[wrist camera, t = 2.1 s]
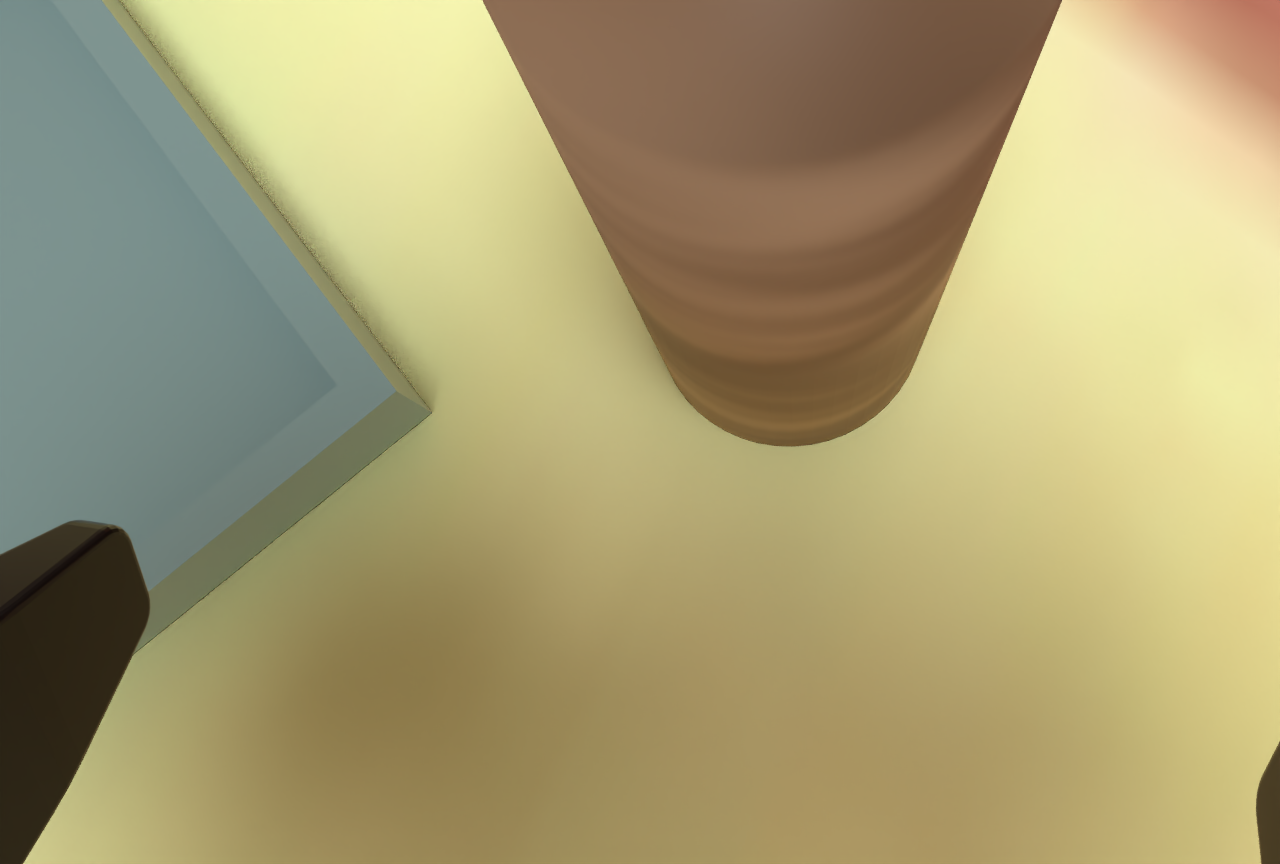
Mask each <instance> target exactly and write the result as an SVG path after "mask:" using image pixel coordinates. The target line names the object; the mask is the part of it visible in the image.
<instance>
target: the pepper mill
mask: <svg viewBox="0 0 1280 864" xmlns="http://www.w3.org/2000/svg"><path fill="white" fill-rule="evenodd" d="M483 2H484V4H485V6H486V8H487V10H488V12H489V14H490V16H491V18H492V20H493V22H494V24H495V26H496V28H497V30H498V32H499V34H500V36H501V38H502V40H503V42H504V44H505V46H506V48H507V50H508V52H509V54H510V56H511V58H512V60H513V62H514V64H515V66H516V68H517V70H518V72H519V74H520V76H521V78H522V80H523V82H524V84H525V86H526V88H527V90H528V92H529V94H530V96H531V98H532V100H533V102H534V104H535V106H536V108H537V110H538V112H539V114H540V116H541V118H542V120H543V122H544V124H545V126H546V128H547V130H548V132H549V134H550V136H551V138H552V140H553V142H554V144H555V146H556V148H557V150H558V152H559V154H560V156H561V158H562V160H563V162H564V164H565V166H566V168H567V170H568V172H569V174H570V175H571V177H572V179H573V181H574V183H575V185H576V187H577V189H578V191H579V193H580V195H581V197H582V199H583V201H584V203H585V205H586V207H587V209H588V211H589V213H590V215H591V217H592V219H593V221H594V223H595V225H596V227H597V229H598V231H599V233H600V235H601V237H602V239H603V241H604V243H605V245H606V247H607V249H608V251H609V253H610V255H611V257H612V259H613V261H614V263H615V265H616V267H617V269H618V271H619V273H620V275H621V277H622V279H623V281H624V283H625V285H626V287H627V289H628V291H629V293H630V295H631V297H632V299H633V301H634V303H635V305H636V307H637V309H638V311H639V313H640V315H641V317H642V319H643V321H644V323H645V325H646V327H647V329H648V331H649V333H650V335H651V337H652V339H653V341H654V343H655V345H656V347H657V349H658V351H659V353H660V355H661V356H662V358H663V360H664V362H665V364H666V366H667V368H668V370H669V372H670V374H671V376H672V378H673V380H674V382H675V384H676V385H677V387H678V388H679V390H680V391H681V392H682V394H683V395H684V397H685V398H686V399H687V400H688V402H689V403H690V404H691V405H692V406H693V407H694V408H695V409H696V410H697V411H698V412H699V413H700V414H702V415H703V416H704V417H705V418H707V419H708V420H709V421H710V422H712V423H713V424H715V425H717V426H718V427H720V428H722V429H723V430H725V431H727V432H729V433H731V434H733V435H736V436H738V437H740V438H743V439H746V440H750V441H753V442H756V443H761V444H767V445H774V446H802V445H812V444H816V443H820V442H825V441H829V440H832V439H834V438H837V437H840V436H842V435H845V434H847V433H849V432H851V431H853V430H855V429H857V428H858V427H860V426H862V425H863V424H865V423H866V422H868V421H869V420H870V419H872V418H873V417H875V416H876V415H877V414H878V413H879V412H880V411H881V410H882V409H884V408H885V407H886V406H887V405H888V404H889V403H890V401H891V400H892V399H893V398H894V397H895V395H896V394H897V393H898V392H899V391H900V389H901V387H902V386H903V384H904V383H905V381H906V379H907V378H908V376H909V374H910V372H911V370H912V368H913V365H914V363H915V361H916V358H917V356H918V354H919V351H920V349H921V346H922V344H923V341H924V339H925V336H926V334H927V331H928V329H929V326H930V324H931V322H932V319H933V317H934V314H935V312H936V309H937V307H938V304H939V302H940V299H941V297H942V294H943V292H944V290H945V287H946V285H947V282H948V280H949V277H950V275H951V272H952V270H953V267H954V265H955V262H956V260H957V258H958V255H959V253H960V250H961V248H962V245H963V243H964V240H965V238H966V235H967V233H968V230H969V228H970V226H971V223H972V221H973V218H974V216H975V213H976V211H977V208H978V206H979V203H980V201H981V198H982V196H983V194H984V191H985V189H986V186H987V184H988V181H989V179H990V176H991V174H992V171H993V169H994V166H995V164H996V162H997V159H998V157H999V154H1000V152H1001V149H1002V147H1003V144H1004V142H1005V139H1006V137H1007V135H1008V132H1009V130H1010V127H1011V125H1012V122H1013V120H1014V117H1015V115H1016V112H1017V110H1018V107H1019V105H1020V103H1021V100H1022V98H1023V95H1024V93H1025V90H1026V88H1027V85H1028V83H1029V80H1030V78H1031V75H1032V73H1033V71H1034V68H1035V66H1036V63H1037V61H1038V58H1039V56H1040V53H1041V51H1042V48H1043V46H1044V43H1045V41H1046V39H1047V36H1048V34H1049V31H1050V29H1051V26H1052V24H1053V21H1054V19H1055V16H1056V14H1057V11H1058V9H1059V7H1060V4H1061V2H1062V0H483Z"/></svg>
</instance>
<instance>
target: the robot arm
mask: <svg viewBox="0 0 1280 864" xmlns="http://www.w3.org/2000/svg"><path fill="white" fill-rule="evenodd" d="M149 615H150V596H149V592H148V589H147V586H146V583H145V580H144V577H143V574H142V571H141V568H140V565H139V562H138V559H137V556H136V553H135V550H134V547H133V544H132V541H131V539H130V537H129V535H128V534H127V533H126V532H125V530H124V529H123V528H122V527H119V526H117V525H113V524H106V523H100V522H93V521H86V520H73V521H69V522H66V523H64V524H62V525H60V526H58V527H55V528H53V529H51V530H49V531H47V532H45V533H43V534H41V535H39V536H37V537H35V538H33V539H31V540H29V541H27V542H25V543H23V544H21V545H18V546H16V547H14V548H12V549H10V550H8V551H6V552H4V553H2V554H0V864H23V863H24V861H25V860H26V858H27V856H28V855H29V853H30V851H31V850H32V848H33V846H34V845H35V843H36V841H37V840H38V838H39V837H40V835H41V833H42V832H43V830H44V828H45V827H46V825H47V823H48V822H49V820H50V818H51V817H52V815H53V814H54V812H55V810H56V808H57V807H58V805H59V803H60V801H61V800H62V798H63V796H64V794H65V793H66V791H67V789H68V787H69V785H70V784H71V782H72V780H73V778H74V776H75V774H76V772H77V770H78V768H79V766H80V764H81V762H82V760H83V758H84V756H85V754H86V752H87V750H88V748H89V746H90V744H91V742H92V739H93V737H94V735H95V733H96V731H97V729H98V727H99V725H100V723H101V721H102V719H103V716H104V714H105V712H106V710H107V708H108V706H109V704H110V702H111V700H112V698H113V695H114V693H115V691H116V689H117V687H118V685H119V683H120V681H121V679H122V677H123V675H124V672H125V670H126V668H127V666H128V664H129V662H130V660H131V658H132V656H133V654H134V652H135V649H136V647H137V645H138V643H139V641H140V639H141V637H142V635H143V633H144V631H145V628H146V626H147V623H148V619H149ZM1256 816H1257V826H1258V835H1259V845H1260V855H1261V864H1280V742H1279V744H1278V746H1277V748H1276V750H1275V752H1274V754H1273V756H1272V758H1271V760H1270V762H1269V764H1268V765H1267V767H1266V769H1265V771H1264V773H1263V775H1262V778H1261V780H1260V783H1259V787H1258V791H1257V798H1256Z"/></svg>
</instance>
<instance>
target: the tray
mask: <svg viewBox="0 0 1280 864" xmlns="http://www.w3.org/2000/svg"><path fill="white" fill-rule="evenodd" d="M431 413H432V412H431V411H430V409H429V408H428V407H427V405H426V404H425V403H424V401H423V400H422V399H421V397H420V396H419V395H418V394H417V392H416V391H415V390H414V388H413V387H412V386H411V384H410V383H409V382H408V380H407V379H406V378H405V376H404V375H403V374H402V372H401V371H400V370H399V369H398V367H397V366H396V365H395V363H394V362H393V361H392V359H391V358H390V357H389V355H388V354H387V353H386V351H385V350H384V349H383V347H382V346H381V345H380V344H379V342H378V341H377V340H376V338H375V337H374V336H373V334H372V333H371V332H370V330H369V329H368V328H367V326H366V325H365V324H364V322H363V321H362V320H361V319H360V317H359V316H358V315H357V313H356V312H355V311H354V309H353V308H352V307H351V305H350V304H349V303H348V301H347V300H346V299H345V297H344V296H343V295H342V294H341V292H340V291H339V290H338V288H337V287H336V286H335V284H334V283H333V282H332V280H331V279H330V278H329V276H328V275H327V274H326V272H325V271H324V270H323V269H322V267H321V266H320V265H319V263H318V262H317V261H316V259H315V258H314V257H313V255H312V254H311V253H310V251H309V250H308V249H307V247H306V246H305V245H304V243H303V242H302V241H301V240H300V238H299V237H298V236H297V234H296V233H295V232H294V230H293V229H292V228H291V226H290V225H289V224H288V222H287V221H286V220H285V218H284V217H283V216H282V215H281V213H280V212H279V211H278V209H277V208H276V207H275V205H274V204H273V203H272V201H271V200H270V199H269V197H268V196H267V195H266V193H265V192H264V191H263V190H262V188H261V187H260V186H259V184H258V183H257V182H256V180H255V179H254V178H253V176H252V175H251V174H250V172H249V171H248V170H247V168H246V167H245V166H244V165H243V163H242V162H241V161H240V159H239V158H238V157H237V155H236V154H235V153H234V151H233V150H232V149H231V147H230V146H229V145H228V143H227V142H226V141H225V140H224V138H223V137H222V136H221V134H220V133H219V132H218V130H217V129H216V128H215V126H214V125H213V124H212V122H211V121H210V120H209V118H208V117H207V116H206V114H205V113H204V112H203V111H202V109H201V108H200V107H199V105H198V104H197V103H196V101H195V100H194V99H193V97H192V96H191V95H190V93H189V92H188V91H187V89H186V88H185V87H184V86H183V84H182V83H181V82H180V80H179V79H178V78H177V76H176V75H175V74H174V72H173V71H172V70H171V68H170V67H169V66H168V64H167V63H166V62H165V61H164V59H163V58H162V57H161V55H160V54H159V53H158V51H157V50H156V49H155V47H154V46H153V45H152V43H151V42H150V41H149V39H148V38H147V37H146V36H145V34H144V33H143V32H142V30H141V29H140V28H139V26H138V25H137V24H136V22H135V21H134V20H133V18H132V17H131V16H130V14H129V13H128V12H127V11H126V9H125V8H124V7H123V5H122V4H121V3H120V1H119V0H0V554H2V553H4V552H6V551H8V550H10V549H12V548H14V547H16V546H18V545H21V544H23V543H25V542H27V541H29V540H31V539H33V538H35V537H37V536H39V535H41V534H43V533H45V532H47V531H49V530H51V529H53V528H55V527H58V526H60V525H62V524H64V523H66V522H69V521H73V520H86V521H93V522H100V523H106V524H113V525H117V526H119V527H122V528H123V529H124V530H125V532H126V533H127V534H128V535H129V537H130V539H131V541H132V544H133V547H134V550H135V553H136V556H137V559H138V562H139V565H140V568H141V571H142V574H143V577H144V580H145V583H146V586H147V589H148V592H149V596H150V615H149V619H148V623H147V626H146V628H145V631H144V633H143V635H142V637H141V639H140V641H139V643H138V645H137V647H136V649H135V652H137V651H138V650H139V649H140V648H142V647H143V646H144V645H145V644H146V643H148V642H149V641H150V640H151V639H153V638H154V637H155V636H156V635H158V634H159V633H160V632H161V631H163V630H164V629H165V628H166V627H167V626H169V625H170V624H171V623H172V622H174V621H175V620H176V619H177V618H179V617H180V616H181V615H182V614H184V613H185V612H186V611H187V610H189V609H190V608H191V607H192V606H193V605H195V604H196V603H197V602H198V601H200V600H201V599H202V598H203V597H205V596H206V595H207V594H208V593H210V592H211V591H212V590H213V589H214V588H216V587H217V586H218V585H219V584H221V583H222V582H223V581H224V580H226V579H227V578H228V577H229V576H231V575H232V574H233V573H234V572H236V571H237V570H238V569H239V568H240V567H242V566H243V565H244V564H245V563H247V562H248V561H249V560H250V559H252V558H253V557H254V556H255V555H257V554H258V553H259V552H260V551H261V550H263V549H264V548H265V547H266V546H268V545H269V544H270V543H271V542H273V541H274V540H275V539H276V538H278V537H279V536H280V535H281V534H283V533H284V532H285V531H286V530H287V529H289V528H290V527H291V526H292V525H294V524H295V523H296V522H297V521H299V520H300V519H301V518H302V517H304V516H305V515H306V514H307V513H309V512H310V511H311V510H312V509H313V508H315V507H316V506H317V505H318V504H320V503H321V502H322V501H323V500H325V499H326V498H327V497H328V496H330V495H331V494H332V493H333V492H334V491H336V490H337V489H338V488H339V487H341V486H342V485H343V484H344V483H346V482H347V481H348V480H349V479H351V478H352V477H353V476H354V475H356V474H357V473H358V472H359V471H360V470H362V469H363V468H364V467H365V466H367V465H368V464H369V463H370V462H372V461H373V460H374V459H375V458H377V457H378V456H379V455H380V454H381V453H383V452H384V451H385V450H386V449H388V448H389V447H390V446H391V445H393V444H394V443H395V442H396V441H398V440H399V439H400V438H401V437H403V436H404V435H405V434H406V433H407V432H409V431H410V430H411V429H412V428H414V427H415V426H416V425H417V424H419V423H420V422H421V421H422V420H424V419H425V418H426V417H427V416H428V415H430V414H431ZM135 652H134V653H135Z"/></svg>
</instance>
